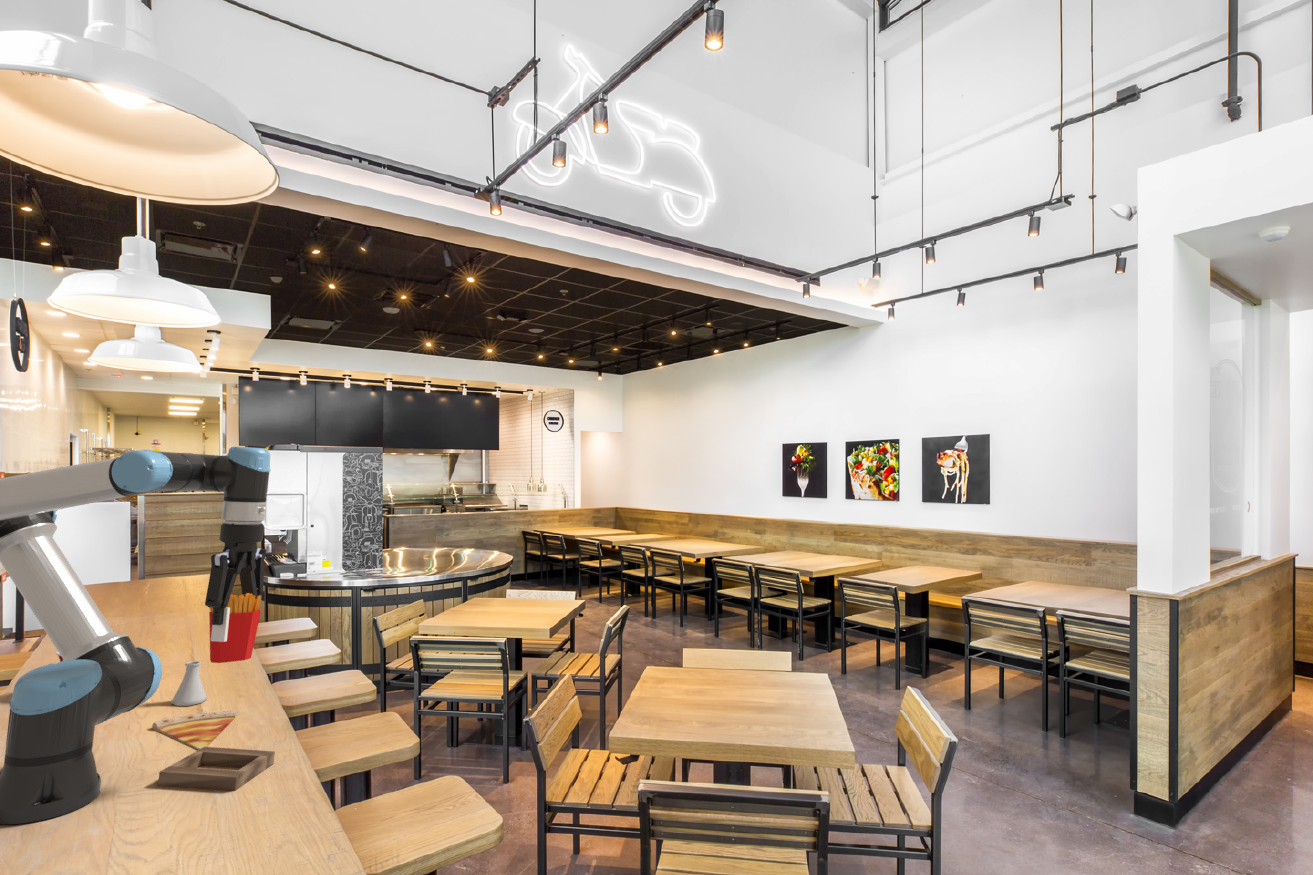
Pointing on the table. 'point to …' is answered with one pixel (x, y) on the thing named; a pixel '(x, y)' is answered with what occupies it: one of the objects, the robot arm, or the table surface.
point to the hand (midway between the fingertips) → (231, 636)
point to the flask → (190, 687)
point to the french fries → (237, 630)
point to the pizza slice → (196, 727)
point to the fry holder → (194, 777)
